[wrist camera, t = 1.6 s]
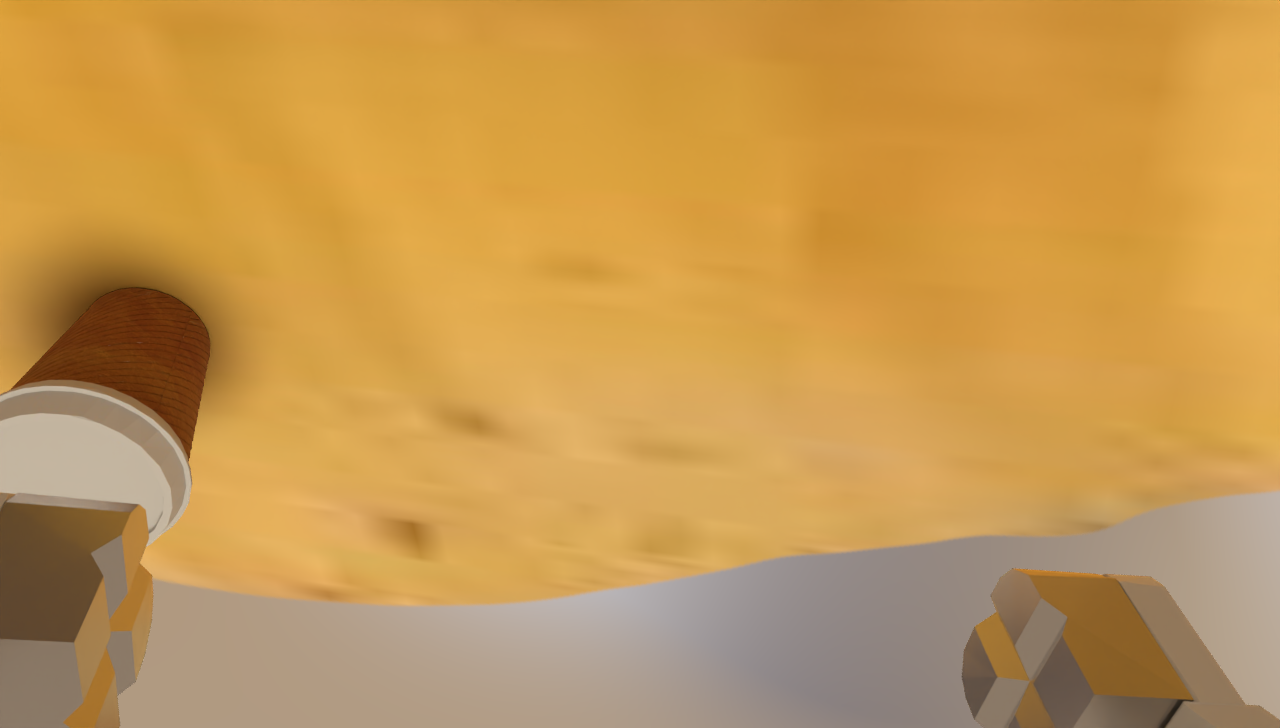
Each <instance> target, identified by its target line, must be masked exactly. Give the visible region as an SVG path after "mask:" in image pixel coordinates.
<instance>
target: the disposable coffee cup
mask: <svg viewBox="0 0 1280 728" xmlns="http://www.w3.org/2000/svg"><path fill="white" fill-rule="evenodd" d="M209 356H210V340H209V336H208V332H207V330H206V328H205V326H204V324H203V323H202V322H201V320H200V319H199V317H198V316H197V315H196V314H195V313H194V312H193V311H192V310H191V309H190V308H189V307H187V306H186V305H184V304H183V303H182V302H180V301H179V300H177V299H175V298H173V297H171V296H169V295H167V294H164V293H161V292H158V291H155V290H148V289H142V288H127V289H120V290H116V291H113V292H110V293H107V294H105V295H104V296H102V297H100V298H99V299H97V300H96V301H95V302H94V303H93V304H92V305H91V306H90V308H89V309H88V310H87V311H86V312H85V313H84V314H83V315H82V316H81V317H80V318H79V319H78V320H77V321H76V322H75V323H74V324H73V325H72V327H71V328H70V329H69V330H68V331H67V332H66V333H65V334H64V335H63V336H62V337H61V338H60V339H59V340H58V341H57V342H56V343H55V344H54V345H53V346H52V347H51V348H50V349H49V350H48V351H47V352H46V353H45V354H44V355H43V356H42V357H41V358H40V360H39V361H38V362H37V363H36V364H35V365H34V366H33V367H32V368H31V369H30V370H29V371H28V372H27V373H26V374H25V375H24V376H23V377H22V378H21V379H20V380H19V381H18V382H17V383H16V384H15V385H14V386H13V388H12V389H11V390H9V391H7V392H4V393H2V394H0V492H1V493H11V494H17V493H26V494H37V495H47V496H58V497H68V498H79V499H89V500H99V501H110V502H120V503H131V504H140V505H141V506H142V507H143V508H144V509H146V515H147V524H148V532H149V540H148V543H147V545H146V547H147V546H148V545H150V544H152V543H153V542H154V541H155V540H156V539H157V538H158V537H159V536H160V535H162V534H163V533H164V532H166V531H167V530H168V529H170V528H171V527H173V525H174V524H175V523H176V522H177V521H178V520H179V518H180V517H181V516H182V515H183V513H184V511H185V509H186V507H187V505H188V503H189V498H190V492H191V486H192V477H191V469H190V466H189V463H188V461H189V458H190V450H191V449H192V441H193V436H194V431H195V425H196V422H197V417H198V409H199V406H200V401H201V394H202V390H203V386H204V379H205V375H206V370H207V364H208V359H209Z"/></svg>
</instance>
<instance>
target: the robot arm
mask: <svg viewBox="0 0 1280 728" xmlns="http://www.w3.org/2000/svg"><path fill="white" fill-rule="evenodd" d="M148 540H149V532H148V524H147V515H146V509H144V508H143V507H142V506H141V505H140V504H131V503H120V502H110V501H99V500H89V499H79V498H68V497H58V496H47V495H37V494H26V493H17V494H11V493H1V492H0V728H119V727H120V718H119V707H118V698H117V696H118V695H119V694H120V693H122V692H123V691H124V690H125V689H127V688H128V687H129V686H131V685H132V684H133V683H135V682H136V680H137V676H138V673H139V671H140V668H141V665H142V662H143V659H144V656H145V653H146V647H147V643H148V637H149V633H150V628H151V623H152V611H153V582H152V575H151V574H150V573H149V572H148V571H147V570H146V569H145V568H144V567H143V566H142V565H141V564H140V561H141V558H142V555H143V553H144V550H145V548H146V545H147V543H148ZM991 598H992V601H993V604H994V606H995V609H996V613H994V614H993V615H991V616H990V617H989V618H987V619H985V620H984V621H983V622H981V623H979V624H978V625H976V626H975V627H974V629H973V631H972V634H971V636H970V638H969V640H968V642H967V644H966V647H965V649H964V654H963V668H962V681H963V686H964V692H965V697H966V700H967V703H968V705H969V707H970V710H971V713H972V715H973V718H974V720H976V721H977V722H978V723H979V724H980V725H981V726H982V727H983V728H1280V720H1279V719H1278V718H1276V717H1275V716H1273V715H1272V714H1270V713H1269V712H1268V711H1266V710H1265V709H1264V708H1262V707H1261V706H1256V705H1246V704H1245V703H1244V701H1243V700H1242V698H1241V697H1240V695H1239V694H1238V693H1237V691H1236V690H1235V688H1234V687H1233V685H1232V684H1231V682H1230V681H1229V679H1228V678H1227V677H1226V675H1225V674H1224V673H1223V671H1222V669H1221V668H1220V667H1219V665H1218V664H1217V662H1216V661H1215V659H1214V658H1213V656H1212V655H1211V653H1210V652H1209V650H1208V649H1207V647H1206V646H1205V645H1204V643H1203V642H1202V640H1201V639H1200V637H1199V636H1198V634H1197V633H1196V632H1195V630H1194V629H1193V627H1192V626H1191V624H1190V623H1189V621H1188V620H1187V618H1186V617H1185V615H1184V614H1183V613H1182V611H1181V610H1180V608H1179V607H1178V606H1177V604H1176V602H1175V601H1174V599H1173V598H1172V597H1171V595H1170V594H1169V592H1168V591H1167V589H1166V588H1165V587H1164V586H1163V585H1162V584H1161V583H1159V582H1158V581H1156V580H1155V579H1153V578H1152V577H1148V576H1131V575H1114V574H1104V575H1098V574H1090V573H1074V572H1059V571H1043V570H1028V569H1013V568H1012V569H1011V570H1010V571H1008V572H1007V573H1006V574H1004V575H1003V576H1002V577H1001V578H1000V579H999V581H998V583H997V585H996V587H995V588H994V590H993V592H992V594H991Z"/></svg>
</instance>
